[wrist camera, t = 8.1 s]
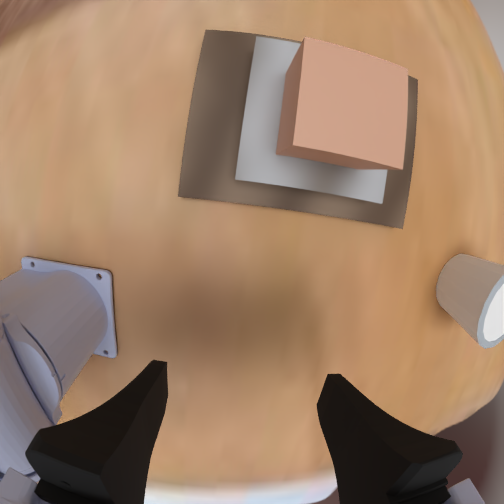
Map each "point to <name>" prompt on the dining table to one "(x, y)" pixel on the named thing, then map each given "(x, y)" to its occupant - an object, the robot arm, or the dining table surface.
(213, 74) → the walnut base
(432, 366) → the dining table surface
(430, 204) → the dining table surface
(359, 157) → the terracotta block
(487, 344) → the grey cup
